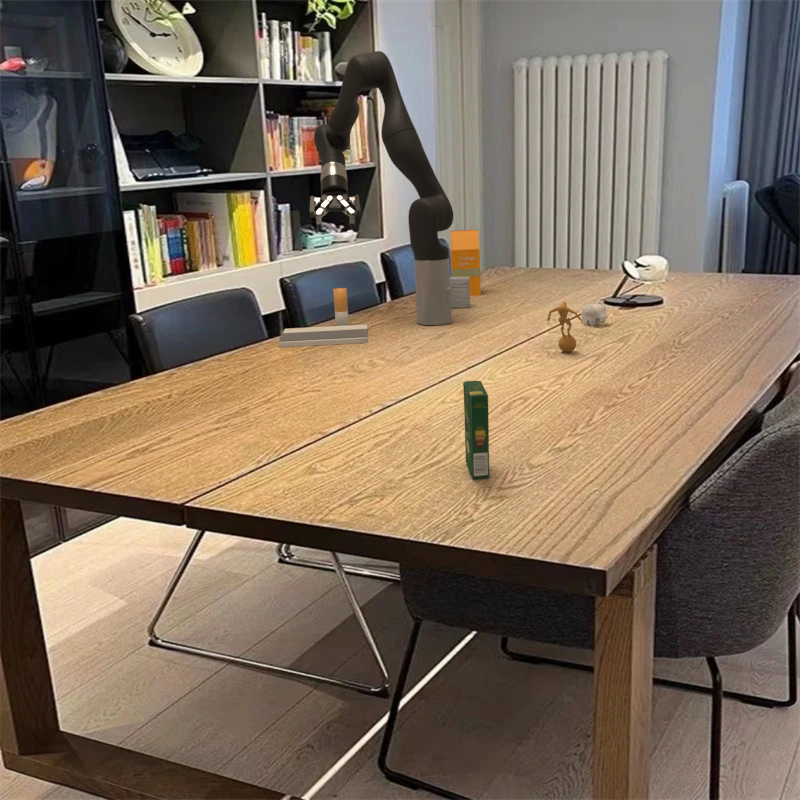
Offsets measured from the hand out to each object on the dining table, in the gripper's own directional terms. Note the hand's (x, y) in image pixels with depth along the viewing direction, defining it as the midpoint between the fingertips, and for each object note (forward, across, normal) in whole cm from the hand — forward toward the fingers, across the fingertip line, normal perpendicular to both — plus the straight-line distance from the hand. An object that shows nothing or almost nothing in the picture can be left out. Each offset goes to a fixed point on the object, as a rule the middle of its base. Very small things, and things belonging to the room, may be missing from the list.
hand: (335, 227), depth 268 cm
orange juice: (-2, +40, +38) cm, 55 cm away
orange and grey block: (+27, +1, +9) cm, 28 cm away
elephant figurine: (+40, +65, -7) cm, 76 cm away
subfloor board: (+38, -4, -3) cm, 38 cm away
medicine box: (+14, +34, +21) cm, 43 cm away
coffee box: (+111, +20, -82) cm, 139 cm away
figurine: (+60, +51, -28) cm, 84 cm away
